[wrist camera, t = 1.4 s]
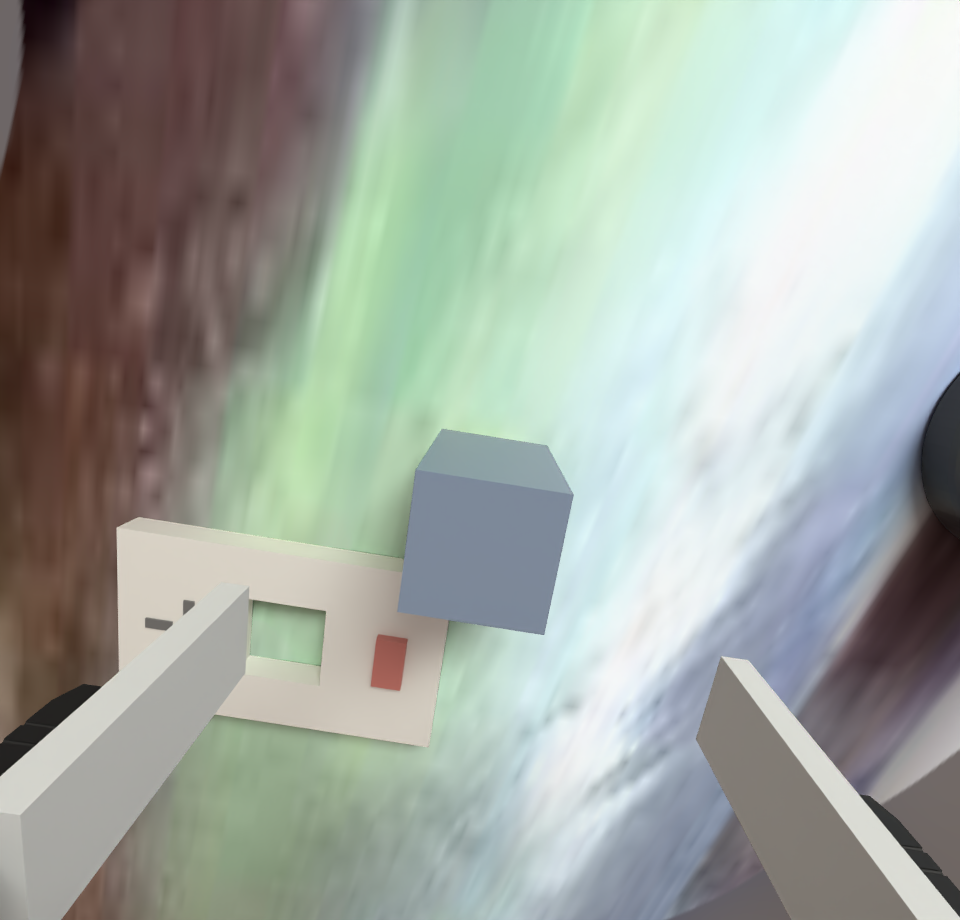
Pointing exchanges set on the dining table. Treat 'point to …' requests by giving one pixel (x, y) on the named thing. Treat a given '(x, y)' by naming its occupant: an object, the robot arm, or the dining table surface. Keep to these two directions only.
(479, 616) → the plug
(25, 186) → the dining table surface
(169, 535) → the socket plate
